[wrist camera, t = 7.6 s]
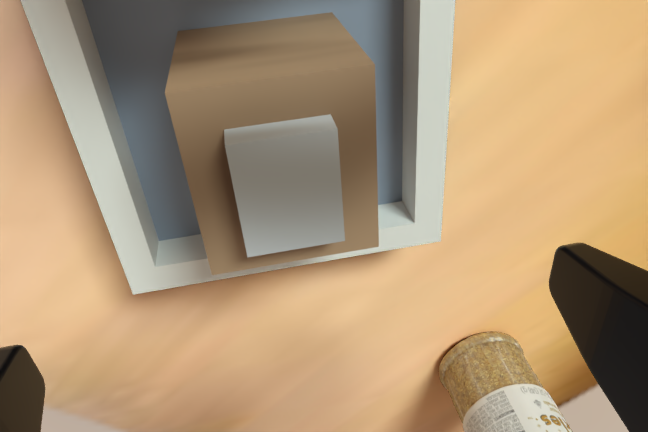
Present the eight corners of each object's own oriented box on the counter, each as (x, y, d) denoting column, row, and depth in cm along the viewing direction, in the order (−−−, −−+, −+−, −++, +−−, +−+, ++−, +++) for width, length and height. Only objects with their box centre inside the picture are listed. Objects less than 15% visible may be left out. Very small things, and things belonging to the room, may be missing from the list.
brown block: (341, 161, 18) (386, 264, 14) (211, 181, 18) (211, 295, 13) (331, 12, 15) (384, 76, 11) (177, 31, 15) (161, 107, 10)
